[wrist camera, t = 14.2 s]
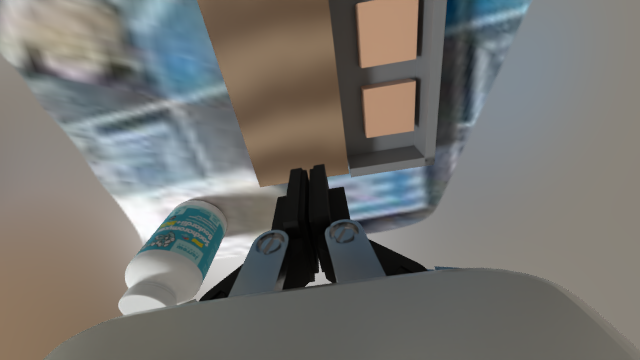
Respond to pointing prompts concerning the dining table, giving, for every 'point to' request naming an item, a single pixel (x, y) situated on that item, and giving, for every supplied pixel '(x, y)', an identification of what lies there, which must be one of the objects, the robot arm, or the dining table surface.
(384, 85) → the tile
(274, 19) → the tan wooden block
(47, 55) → the dining table surface
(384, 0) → the tile
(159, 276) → the pill bottle
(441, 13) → the tray
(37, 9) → the dining table surface
